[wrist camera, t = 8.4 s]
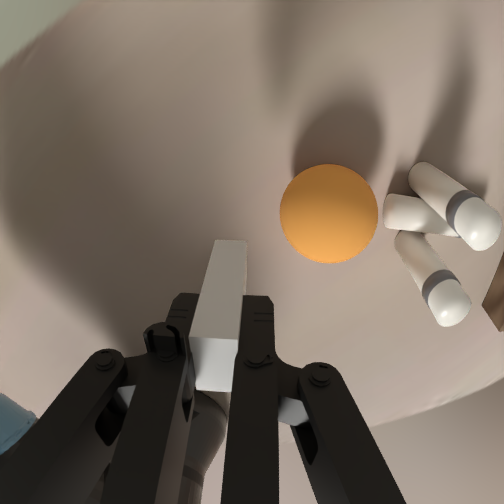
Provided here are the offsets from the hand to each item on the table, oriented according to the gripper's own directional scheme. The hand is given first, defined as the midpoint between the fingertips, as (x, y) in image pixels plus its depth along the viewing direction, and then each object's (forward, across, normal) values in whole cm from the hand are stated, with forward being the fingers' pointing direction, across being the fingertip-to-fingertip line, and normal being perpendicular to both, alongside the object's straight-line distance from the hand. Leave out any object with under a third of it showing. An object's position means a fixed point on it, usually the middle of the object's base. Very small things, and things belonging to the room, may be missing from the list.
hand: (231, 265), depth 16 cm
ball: (+5, +6, +1) cm, 7 cm away
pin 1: (+8, +13, +3) cm, 15 cm away
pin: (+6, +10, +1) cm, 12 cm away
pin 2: (+8, +13, -2) cm, 15 cm away
